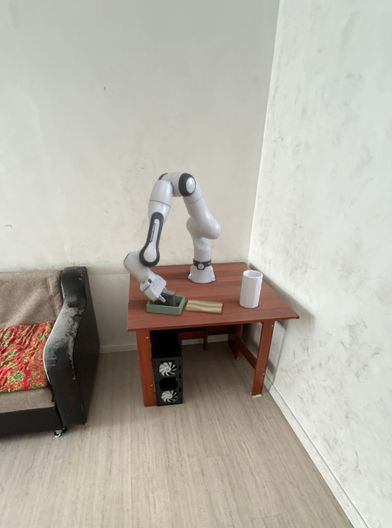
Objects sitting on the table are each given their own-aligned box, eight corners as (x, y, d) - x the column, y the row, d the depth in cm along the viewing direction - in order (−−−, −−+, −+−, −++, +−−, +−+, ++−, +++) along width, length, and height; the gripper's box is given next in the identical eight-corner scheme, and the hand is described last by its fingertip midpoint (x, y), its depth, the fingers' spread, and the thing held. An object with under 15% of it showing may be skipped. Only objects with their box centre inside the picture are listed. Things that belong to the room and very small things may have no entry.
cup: (243, 309, 165) (247, 278, 154) (236, 300, 174) (239, 270, 163) (261, 307, 168) (266, 276, 157) (253, 298, 176) (257, 269, 165)
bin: (153, 300, 172) (153, 293, 169) (184, 303, 170) (184, 296, 167) (146, 312, 160) (146, 304, 158) (179, 315, 158) (179, 307, 156)
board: (188, 300, 172) (188, 299, 172) (222, 304, 170) (222, 302, 169) (185, 310, 163) (185, 309, 162) (220, 314, 160) (220, 312, 160)
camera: (177, 307, 165) (177, 291, 159) (172, 312, 161) (171, 295, 155) (160, 302, 169) (159, 286, 163) (154, 307, 165) (153, 291, 159)
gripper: (150, 276, 167) (167, 293, 171) (138, 291, 150) (158, 309, 155) (157, 269, 163) (174, 286, 168) (146, 283, 147) (166, 303, 152)
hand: (166, 298), depth 161 cm, fingers closed on camera, 6 cm apart
